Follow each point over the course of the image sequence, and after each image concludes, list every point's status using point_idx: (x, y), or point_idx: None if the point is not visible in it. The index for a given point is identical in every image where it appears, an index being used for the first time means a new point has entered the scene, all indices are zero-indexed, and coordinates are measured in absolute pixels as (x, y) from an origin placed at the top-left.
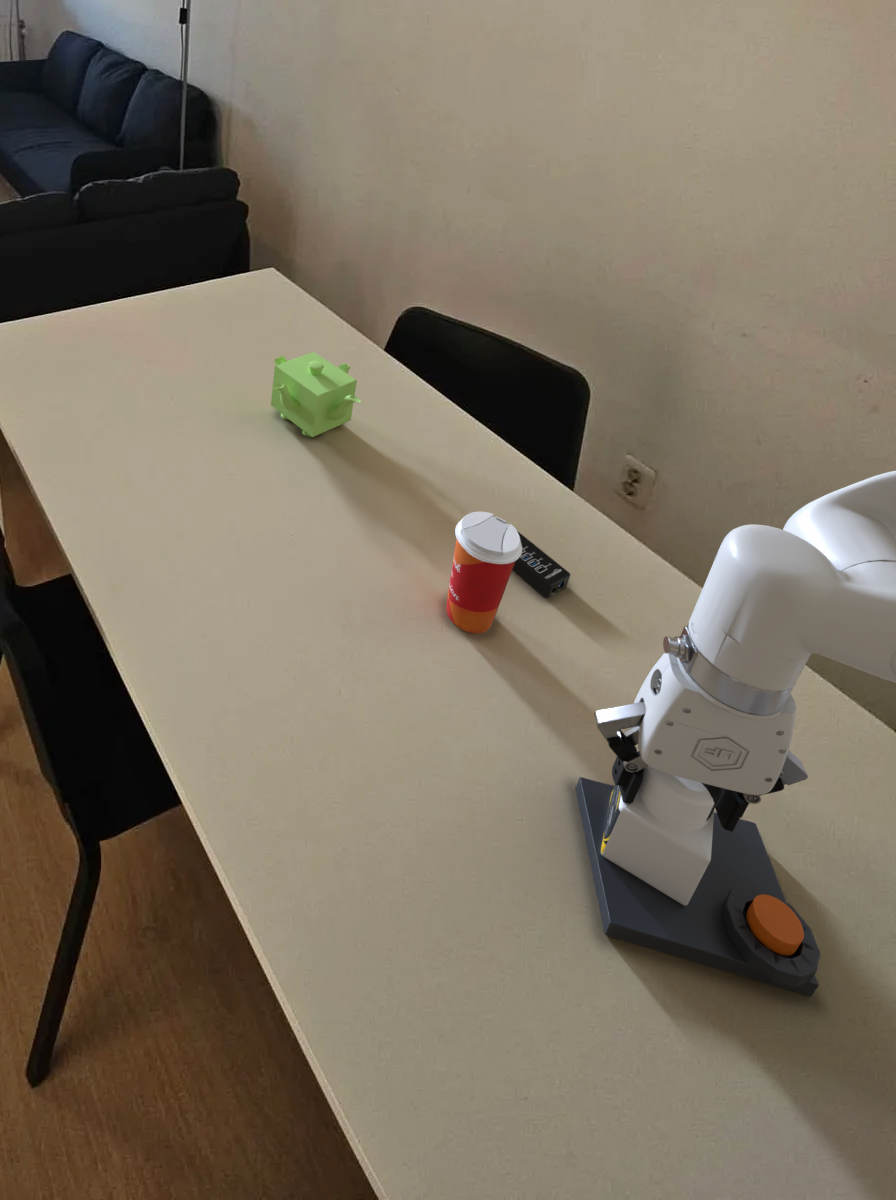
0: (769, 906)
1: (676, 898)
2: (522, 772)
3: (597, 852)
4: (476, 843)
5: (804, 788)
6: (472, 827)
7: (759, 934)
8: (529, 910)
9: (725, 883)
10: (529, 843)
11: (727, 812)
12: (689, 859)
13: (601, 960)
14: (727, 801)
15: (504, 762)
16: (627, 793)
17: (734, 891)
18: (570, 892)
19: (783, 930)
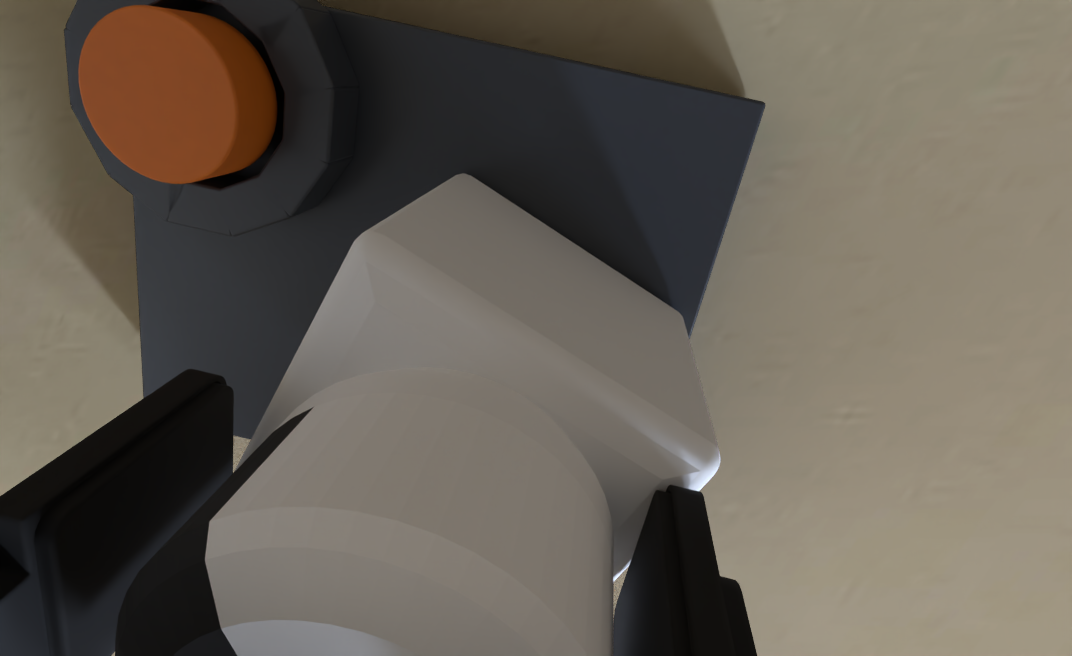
0: (173, 140)
1: (489, 188)
2: (769, 534)
3: (686, 324)
4: (1054, 349)
5: (4, 490)
6: (1038, 393)
7: (251, 63)
8: (983, 158)
9: (299, 250)
10: (861, 353)
11: (165, 454)
12: (450, 253)
13: (804, 21)
14: (135, 512)
15: (813, 559)
16: (711, 545)
17: (282, 208)
18: (799, 220)
19: (152, 56)
